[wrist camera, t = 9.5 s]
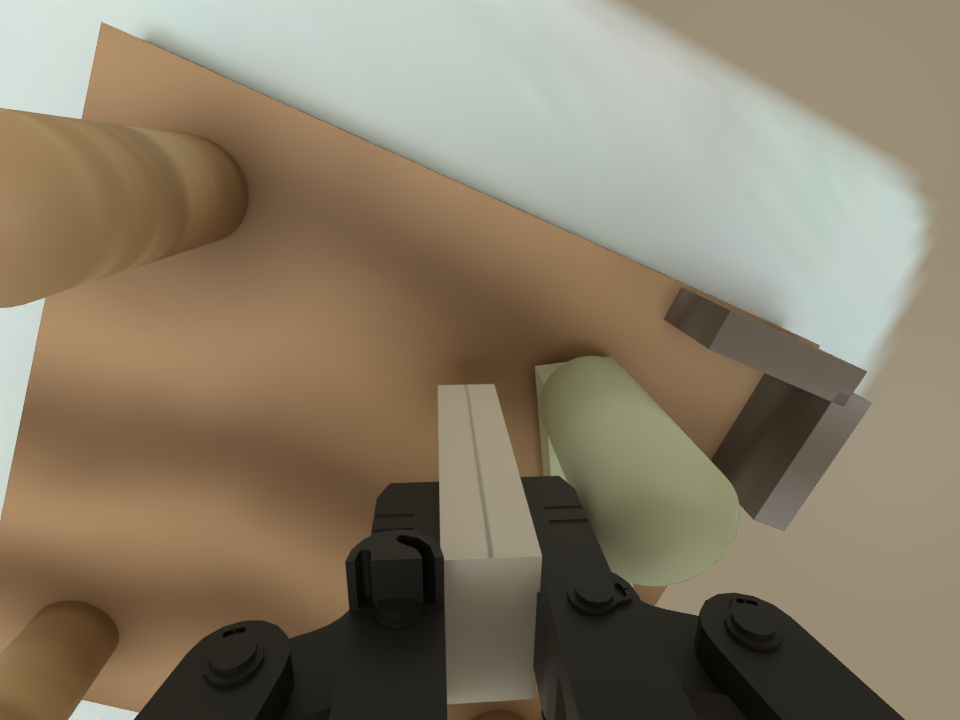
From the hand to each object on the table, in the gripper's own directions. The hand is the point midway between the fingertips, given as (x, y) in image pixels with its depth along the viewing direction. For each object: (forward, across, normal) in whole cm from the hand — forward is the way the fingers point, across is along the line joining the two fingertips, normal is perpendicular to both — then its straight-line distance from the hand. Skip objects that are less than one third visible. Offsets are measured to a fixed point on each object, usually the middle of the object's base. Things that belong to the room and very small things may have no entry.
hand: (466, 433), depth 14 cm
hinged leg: (+3, +4, -4) cm, 6 cm away
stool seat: (+5, -3, -5) cm, 8 cm away
